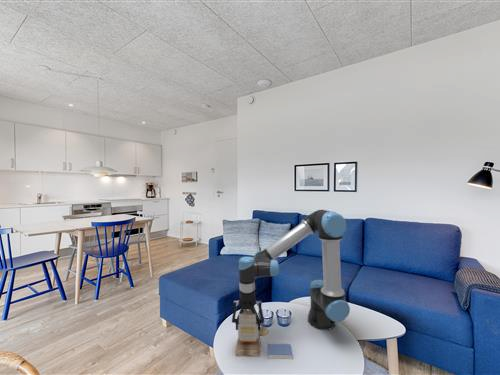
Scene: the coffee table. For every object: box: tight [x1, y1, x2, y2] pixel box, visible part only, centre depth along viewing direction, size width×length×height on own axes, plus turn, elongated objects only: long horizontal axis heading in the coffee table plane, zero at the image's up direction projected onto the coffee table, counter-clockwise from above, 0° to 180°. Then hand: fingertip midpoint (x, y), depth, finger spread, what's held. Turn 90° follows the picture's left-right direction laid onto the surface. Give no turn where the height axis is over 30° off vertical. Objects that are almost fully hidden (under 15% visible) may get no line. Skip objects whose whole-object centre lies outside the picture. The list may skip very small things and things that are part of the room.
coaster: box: [258, 326, 270, 337], centre depth 125 cm, size 8×8×1 cm
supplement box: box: [238, 310, 257, 342], centre depth 113 cm, size 8×5×13 cm, turn 84°
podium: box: [235, 335, 261, 358], centre depth 113 cm, size 11×11×3 cm
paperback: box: [267, 343, 294, 360], centre depth 109 cm, size 7×11×2 cm, turn 88°
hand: (248, 336), depth 113 cm, fingers closed on supplement box, 8 cm apart
